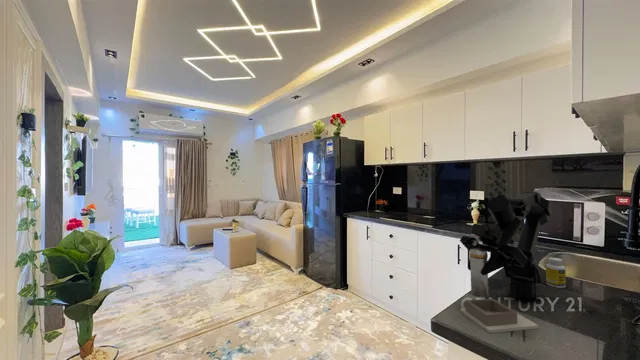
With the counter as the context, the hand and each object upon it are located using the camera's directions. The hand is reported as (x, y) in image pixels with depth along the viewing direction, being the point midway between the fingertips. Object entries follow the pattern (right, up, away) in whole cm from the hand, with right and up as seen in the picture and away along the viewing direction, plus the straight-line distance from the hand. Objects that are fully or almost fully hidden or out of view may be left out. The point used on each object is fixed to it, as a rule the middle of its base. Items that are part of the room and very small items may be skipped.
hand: (475, 271), depth 78 cm
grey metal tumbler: (+2, -7, 0) cm, 7 cm away
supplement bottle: (+41, -12, +19) cm, 47 cm away
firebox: (+5, -13, -3) cm, 14 cm away
